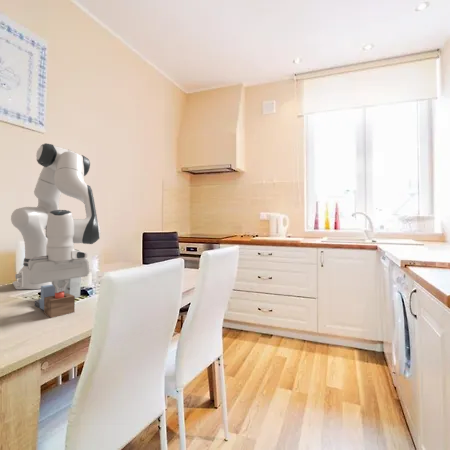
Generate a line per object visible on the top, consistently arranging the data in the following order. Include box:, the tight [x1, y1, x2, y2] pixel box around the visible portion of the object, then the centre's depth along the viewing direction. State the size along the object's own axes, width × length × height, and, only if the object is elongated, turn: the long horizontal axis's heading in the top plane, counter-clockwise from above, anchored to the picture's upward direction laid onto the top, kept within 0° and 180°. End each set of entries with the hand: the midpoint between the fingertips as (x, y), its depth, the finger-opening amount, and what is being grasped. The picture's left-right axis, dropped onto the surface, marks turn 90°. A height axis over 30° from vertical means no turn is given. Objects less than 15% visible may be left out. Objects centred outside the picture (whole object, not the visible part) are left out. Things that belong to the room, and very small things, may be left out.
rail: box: [34, 299, 42, 310], centre depth 113 cm, size 13×2×2 cm, turn 52°
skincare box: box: [57, 277, 82, 299], centre depth 128 cm, size 8×6×15 cm
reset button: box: [55, 292, 64, 299], centre depth 108 cm, size 3×3×3 cm
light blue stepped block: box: [38, 285, 55, 311], centre depth 110 cm, size 5×4×8 cm
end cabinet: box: [43, 293, 76, 319], centre depth 108 cm, size 6×8×6 cm
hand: (60, 292), depth 108 cm, fingers closed
